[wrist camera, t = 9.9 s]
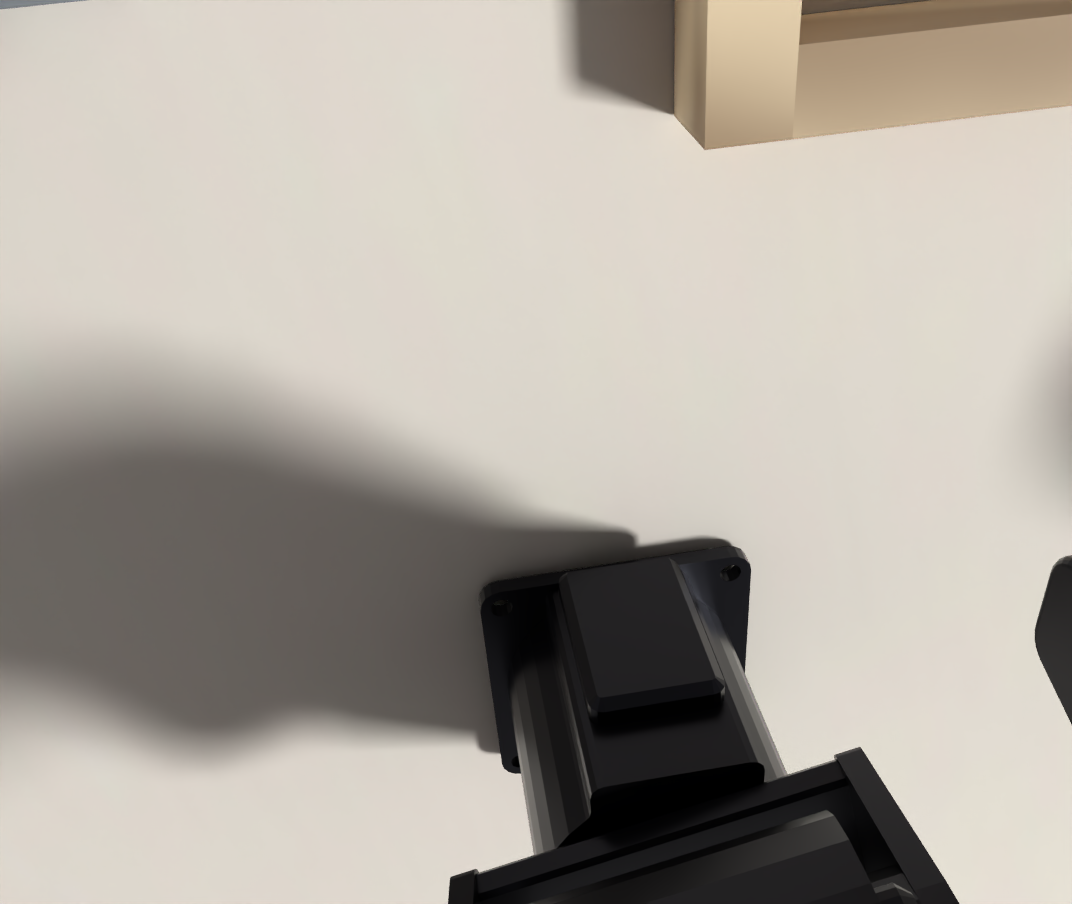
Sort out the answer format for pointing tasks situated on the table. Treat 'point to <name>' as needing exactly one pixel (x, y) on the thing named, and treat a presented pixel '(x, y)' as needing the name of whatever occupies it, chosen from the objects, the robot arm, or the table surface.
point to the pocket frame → (863, 65)
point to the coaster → (29, 3)
